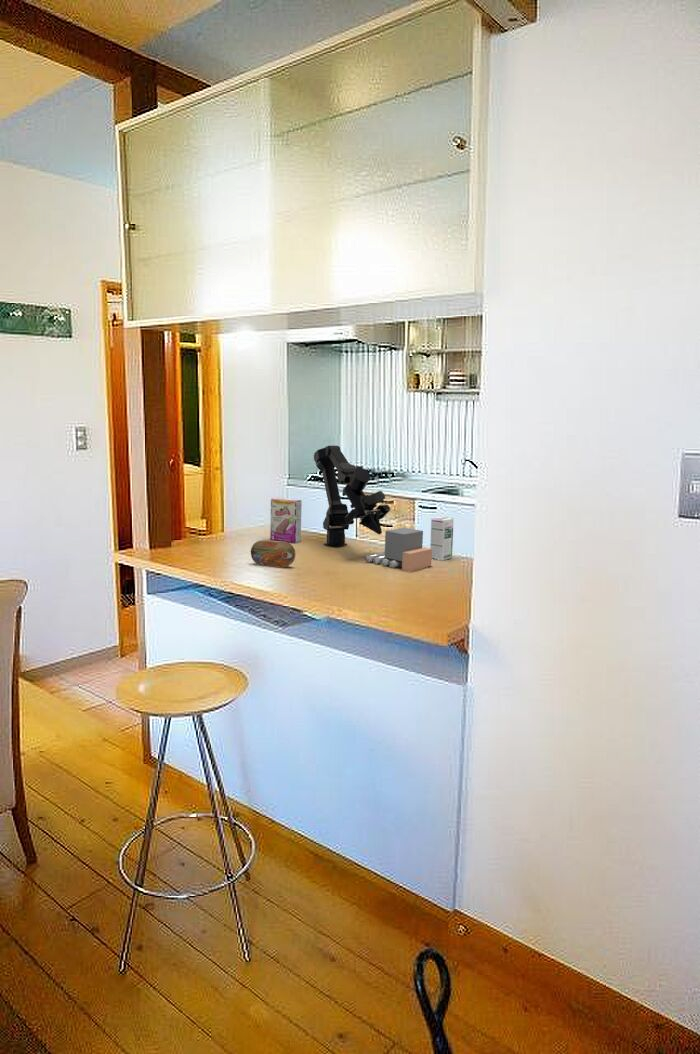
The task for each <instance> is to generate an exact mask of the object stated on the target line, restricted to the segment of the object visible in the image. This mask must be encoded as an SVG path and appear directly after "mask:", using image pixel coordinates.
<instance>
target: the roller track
mask: <svg viewBox="0 0 700 1054" xmlns="http://www.w3.org/2000/svg"><path fill="white" fill-rule="evenodd" d="M364 559H365V560H364V561H365V562H366V563H368V562H369V563H372V561H373V564H374V565H379V563H380V564H381V566H382V565H383V567H386V566H389V567H390V568H391V567H392V568H391V569H394V568H397V567H402V561H399V560H394V559H389V558H385V551H383V552H378V553H373V554H368V555H365V558H364Z"/></svg>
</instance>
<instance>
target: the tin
mask: <svg viewBox="0 0 700 1054" xmlns="http://www.w3.org/2000/svg"><path fill="white" fill-rule="evenodd" d="M250 556H251V559H252V561H253V562H254V563H255V564H256V565H258V566H262V567H272V568H273V567H274V568H287V567H288V566H290V565H291V564H293V563H294V561H295V560H296V550H295V547H294V545H292V543H289V542H282V541H272V540H268V539H267V540H266V539H262V540H258V541H256V542H255V543H253V544H252V546H251V549H250Z"/></svg>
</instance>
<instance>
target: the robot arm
mask: <svg viewBox="0 0 700 1054" xmlns="http://www.w3.org/2000/svg"><path fill="white" fill-rule="evenodd" d="M313 460H314V462H315V465H316V468H317V469H318V470H319V471H320V472H321V474H322V478H323V482H324V483H323V484H324V489H325V494H326V497H327V499H326V500H327V503H328V508H327V511H326V513H325V515H326V516H325V517H324V520H323V522H322V527H323V529H324V530H326V542H324V543H323V545H325V546H328V545H329V546H328V547H333V548H338V547H344V546H347V545H348V543H346V533H345V531H346V530H349V527H350V525H353V524H354V523H355V519H360V520H359V521H360V522H359V525H362V526H363V527H366V528H367V529H369V530H370V531H372V532H374V533H375V534H377V535H381V534H382V533H383V532H382V531H383V530H382V526H381V521H380V520H383V518H384V517H385V516H386V515H387V514H388V513H389V512H390V511H391V507H390V506H389V505H388V504H380V503H384V502H385V499H386V495H385V493H384V492H383V491H382V490H379V491H376V492H374V493H371V494H366V493H365V492H364V491H363V490H365V488H366V486H367V485H368V483H369V481H370V479H371V473H370V472H369V471H368V470H366V469H365V468H364V467H363V466H362V465H361V466H359V465H357V466H356V465H354V464H351V463H350V462H349V461H348V460H347V458H346V457H345V456H344V454H343V452H342V451H341V447H340V446H339V445H327V446H325V447H323V448H320V449H317V450H316V451H315V452H314V453H313ZM335 469H336V471H337V476H336V471H335ZM337 480H338V481H337ZM338 482H339V484H341V485H345V487H343V488H342V493H341V495H342V497H347V499H348V500H349V503H351V504H350V505H349V507H350V508H351V510H350V511H349V509H348V505H347V504H346V503H343V502H342V501H341V495H340V490H339V486H338ZM377 504H379V505H378V506H377Z"/></svg>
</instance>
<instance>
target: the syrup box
mask: <svg viewBox="0 0 700 1054" xmlns="http://www.w3.org/2000/svg"><path fill="white" fill-rule="evenodd" d="M430 521H431V522H430V546H429V548H431V549H432V559H433V558H434V560H437V559H439V561H445V560H449V559H453V545H454V543H453V542H454V540H453V538H454V518H453V517H448V516H439V517H432V518H430Z"/></svg>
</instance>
